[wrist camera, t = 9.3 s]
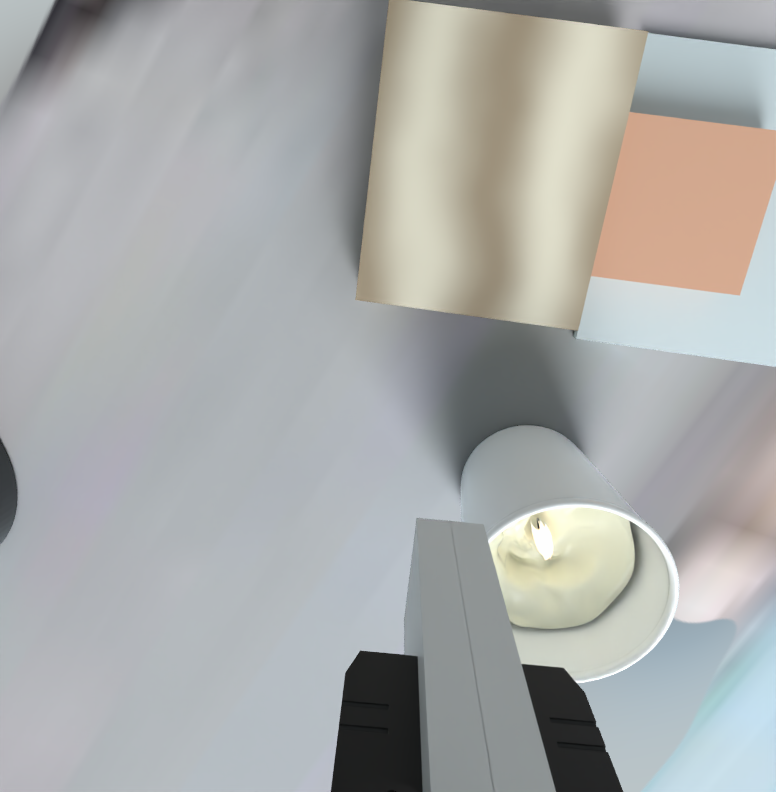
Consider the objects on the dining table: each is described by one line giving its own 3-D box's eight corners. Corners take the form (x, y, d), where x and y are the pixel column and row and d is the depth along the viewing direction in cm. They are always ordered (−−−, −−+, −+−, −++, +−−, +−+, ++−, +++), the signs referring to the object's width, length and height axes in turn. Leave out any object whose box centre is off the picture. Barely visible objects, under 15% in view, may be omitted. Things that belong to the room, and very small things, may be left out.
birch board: (362, 290, 34) (355, 299, 30) (393, 26, 30) (389, -3, 26) (560, 318, 34) (578, 330, 30) (619, 55, 30) (648, 31, 26)
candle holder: (510, 383, 35) (553, 460, 24) (631, 466, 36) (728, 579, 25) (419, 497, 38) (419, 617, 26) (535, 572, 39) (582, 717, 28)
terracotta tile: (578, 272, 32) (589, 275, 30) (611, 119, 30) (627, 111, 28) (717, 290, 32) (739, 295, 30) (762, 139, 30) (790, 132, 28)
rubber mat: (573, 336, 34) (575, 338, 34) (643, 36, 29) (647, 32, 29) (804, 369, 34) (811, 371, 33) (913, 71, 29) (923, 68, 28)
